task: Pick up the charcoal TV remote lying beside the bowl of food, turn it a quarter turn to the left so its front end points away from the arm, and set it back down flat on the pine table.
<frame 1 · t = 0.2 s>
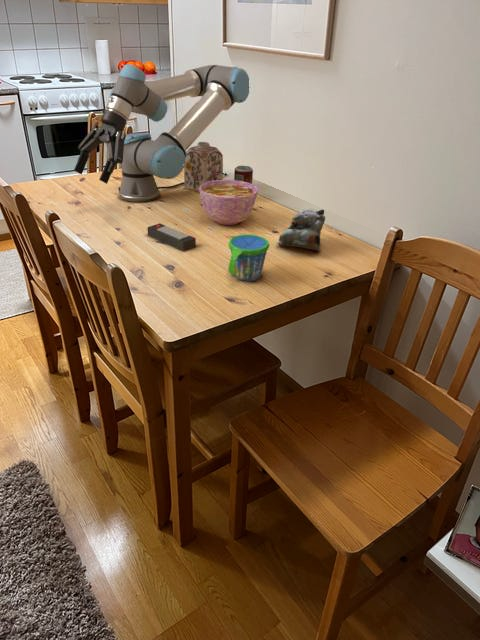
hand: (90, 177, 155), 16 cm above the table, tool tilted 35°, fingers open, 13 cm apart
soda can: (242, 199, 191), on the table
decorative jar: (203, 188, 201), on the table
tv remote: (154, 233, 158), on the table
snack cup: (247, 276, 134), on the table
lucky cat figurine: (299, 247, 152), on the table
bowl of food: (228, 221, 170), on the table
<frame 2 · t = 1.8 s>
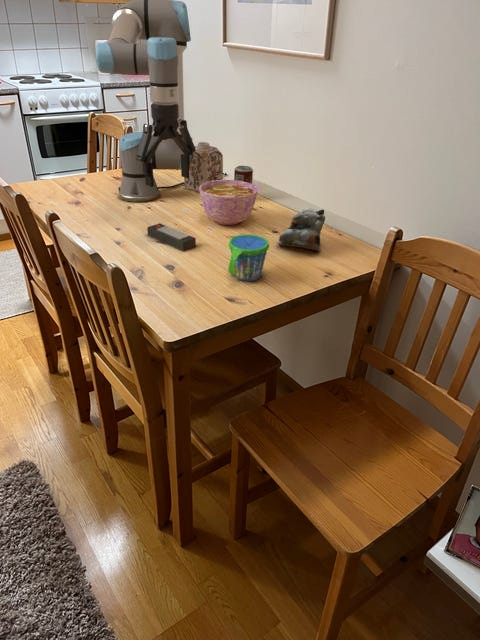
hand: (168, 181, 143), 19 cm above the table, tool pointing down, fingers open, 13 cm apart
nothing on the table moved.
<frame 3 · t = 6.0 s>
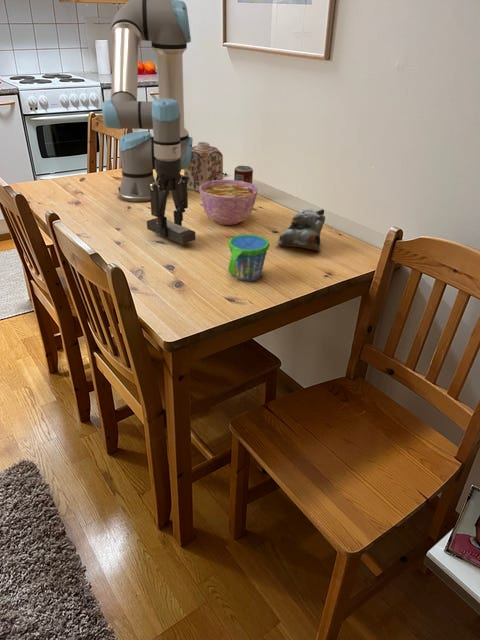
hand: (171, 233, 152), 2 cm above the table, tool pointing down, fingers closed on tv remote, 5 cm apart
tv remote: (153, 227, 157), point 2 cm above the table, touching gripper
everything else where it was.
when the fingers open (0 cm above the table, at t = 8.7 s): tv remote stays where it is, on the table.
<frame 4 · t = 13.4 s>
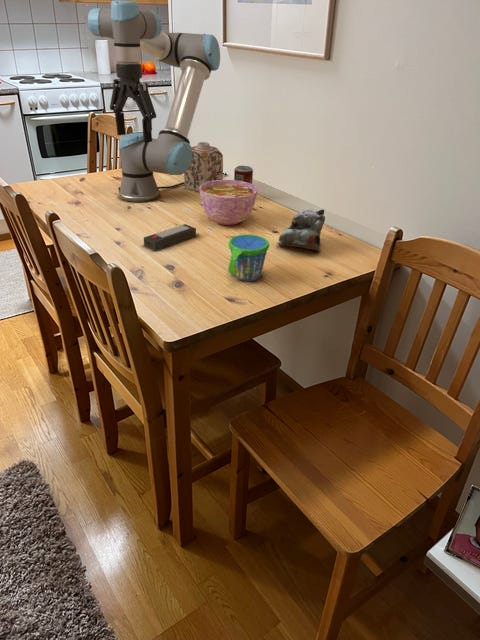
hand: (134, 138, 154), 27 cm above the table, tool pointing down, fingers open, 13 cm apart
tv remote: (149, 248, 147), on the table
everything else where it was.
at the end: tv remote 0.3 cm from the target spot, on the table; tv remote tilted 0°; the gripper is holding nothing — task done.
